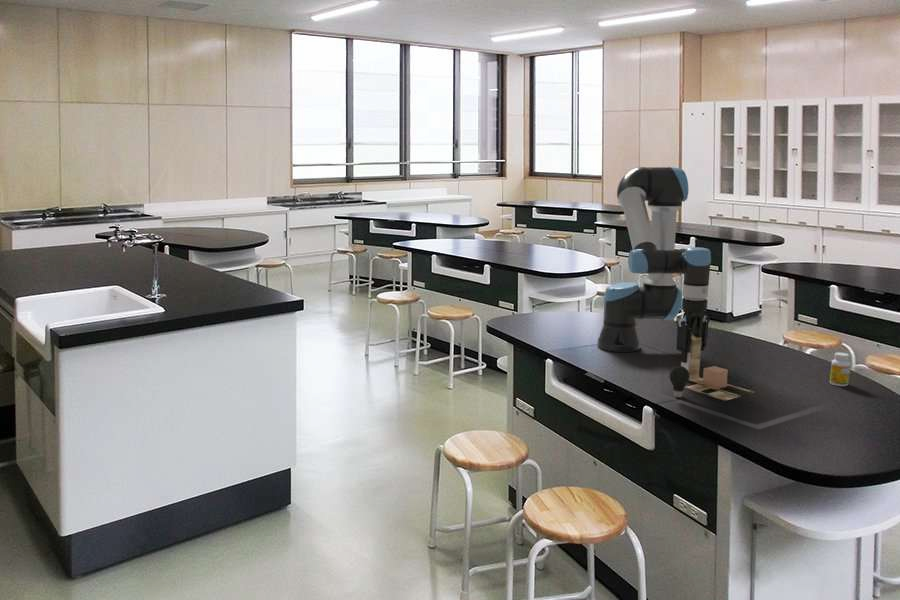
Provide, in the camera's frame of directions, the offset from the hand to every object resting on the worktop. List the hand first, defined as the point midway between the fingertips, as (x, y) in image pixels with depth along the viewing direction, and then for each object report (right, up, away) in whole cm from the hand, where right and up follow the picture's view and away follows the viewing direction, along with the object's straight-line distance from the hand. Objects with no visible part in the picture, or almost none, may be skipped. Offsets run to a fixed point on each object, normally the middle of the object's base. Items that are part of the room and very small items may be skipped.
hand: (689, 370), depth 258 cm
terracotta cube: (+5, -4, -7) cm, 10 cm away
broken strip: (+2, -6, -14) cm, 15 cm away
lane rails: (+5, -6, -12) cm, 14 cm away
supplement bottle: (+46, -4, -1) cm, 46 cm away
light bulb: (-9, -7, -18) cm, 21 cm away
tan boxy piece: (+3, -4, -3) cm, 6 cm away
